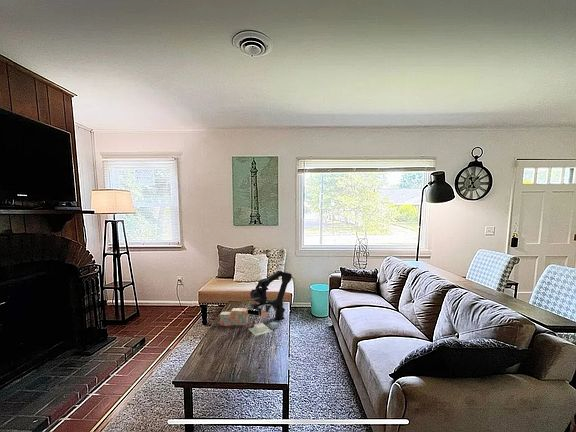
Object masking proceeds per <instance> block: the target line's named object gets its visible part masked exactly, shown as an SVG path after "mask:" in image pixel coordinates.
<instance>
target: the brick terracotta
mask: <svg viewBox="0 0 576 432" xmlns="http://www.w3.org/2000/svg"><path fill="white" fill-rule="evenodd" d="M258 317H260V318H261V319H265V318H268V313H267V311H266V309H261V316H260V315H259V314H258Z"/></svg>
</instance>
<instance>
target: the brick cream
mask: <svg viewBox="0 0 576 432" xmlns="http://www.w3.org/2000/svg"><path fill="white" fill-rule="evenodd" d="M266 326H267V325H266V324H264V322H260V323H255V324H253V327H254V330H255V331H256V332H258V333H259V332H263V331H266Z"/></svg>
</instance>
